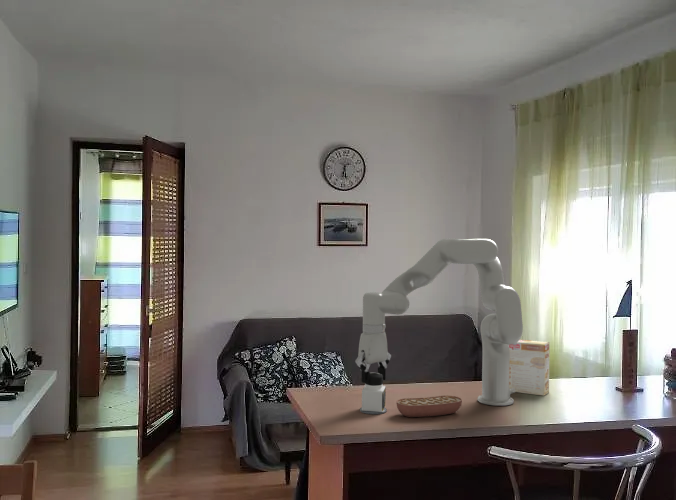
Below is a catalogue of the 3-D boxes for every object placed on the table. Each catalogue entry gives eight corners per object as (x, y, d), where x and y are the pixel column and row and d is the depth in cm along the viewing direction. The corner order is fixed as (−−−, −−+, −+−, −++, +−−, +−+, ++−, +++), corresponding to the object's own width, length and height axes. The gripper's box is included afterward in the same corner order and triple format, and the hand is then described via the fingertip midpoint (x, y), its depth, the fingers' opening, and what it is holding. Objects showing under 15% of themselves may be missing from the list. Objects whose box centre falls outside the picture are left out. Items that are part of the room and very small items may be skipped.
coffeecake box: (549, 392, 249) (550, 341, 249) (544, 396, 243) (545, 344, 243) (510, 387, 257) (511, 338, 257) (505, 391, 251) (505, 340, 251)
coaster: (373, 405, 229) (373, 404, 229) (392, 411, 222) (392, 409, 222) (354, 410, 223) (354, 408, 223) (373, 415, 216) (373, 414, 216)
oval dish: (454, 409, 226) (454, 394, 226) (467, 416, 216) (467, 401, 216) (392, 414, 219) (392, 399, 219) (403, 422, 210) (403, 406, 209)
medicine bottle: (382, 412, 218) (382, 377, 217) (361, 410, 219) (361, 375, 219) (385, 405, 225) (385, 371, 224) (365, 404, 226) (365, 370, 225)
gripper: (383, 325, 230) (383, 375, 231) (347, 330, 219) (347, 383, 219) (399, 327, 224) (399, 379, 225) (362, 332, 213) (362, 387, 213)
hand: (373, 380), depth 222 cm, fingers open, 7 cm apart
